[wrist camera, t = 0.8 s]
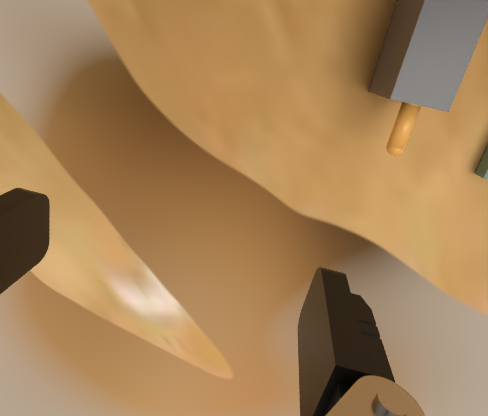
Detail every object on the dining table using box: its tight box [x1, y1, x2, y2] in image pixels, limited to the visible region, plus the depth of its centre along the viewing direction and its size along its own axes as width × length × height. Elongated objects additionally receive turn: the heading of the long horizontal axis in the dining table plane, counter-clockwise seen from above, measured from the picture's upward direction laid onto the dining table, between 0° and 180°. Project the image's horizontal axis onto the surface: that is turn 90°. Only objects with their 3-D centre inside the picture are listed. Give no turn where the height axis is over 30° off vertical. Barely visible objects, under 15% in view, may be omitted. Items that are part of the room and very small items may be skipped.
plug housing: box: [369, 0, 488, 155], centre depth 25 cm, size 12×4×7 cm, turn 169°
